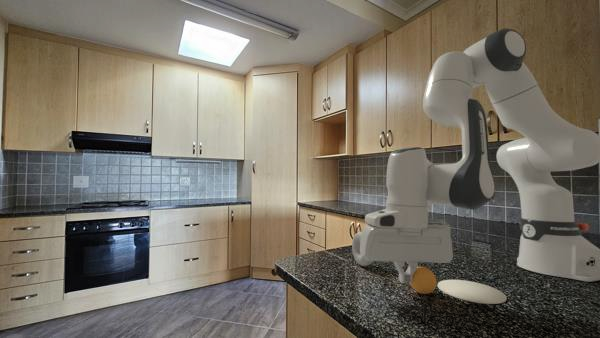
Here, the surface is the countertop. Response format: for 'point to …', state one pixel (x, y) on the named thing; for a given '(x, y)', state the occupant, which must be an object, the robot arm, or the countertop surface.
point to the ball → (423, 281)
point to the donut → (358, 250)
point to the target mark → (472, 291)
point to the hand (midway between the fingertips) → (405, 281)
